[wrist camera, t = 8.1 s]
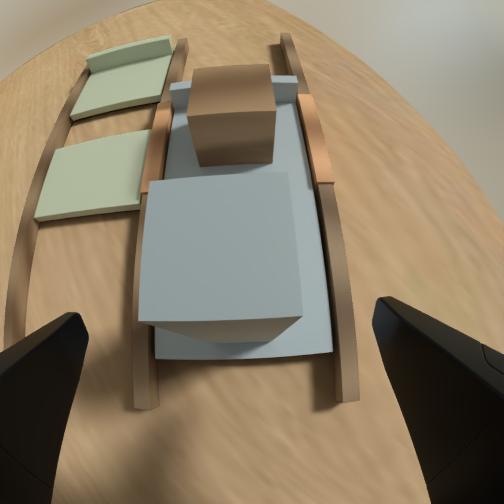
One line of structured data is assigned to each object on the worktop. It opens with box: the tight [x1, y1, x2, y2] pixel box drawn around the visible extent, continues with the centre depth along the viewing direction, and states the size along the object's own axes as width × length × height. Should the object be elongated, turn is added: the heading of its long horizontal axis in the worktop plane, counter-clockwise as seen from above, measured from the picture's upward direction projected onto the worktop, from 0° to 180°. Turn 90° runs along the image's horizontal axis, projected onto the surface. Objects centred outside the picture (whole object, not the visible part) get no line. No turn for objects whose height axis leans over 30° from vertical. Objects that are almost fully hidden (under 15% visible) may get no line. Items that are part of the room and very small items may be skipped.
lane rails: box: [4, 33, 360, 410], centre depth 20 cm, size 35×24×2 cm
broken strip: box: [34, 35, 174, 222], centre depth 21 cm, size 20×10×3 cm, turn 3°
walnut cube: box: [186, 64, 277, 167], centre depth 18 cm, size 5×5×5 cm
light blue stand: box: [138, 76, 333, 360], centre depth 14 cm, size 20×10×12 cm, turn 3°
